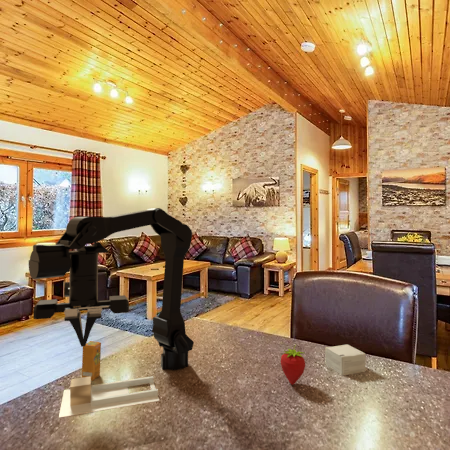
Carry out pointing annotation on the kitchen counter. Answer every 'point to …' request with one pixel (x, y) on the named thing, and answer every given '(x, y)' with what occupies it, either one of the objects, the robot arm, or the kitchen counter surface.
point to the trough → (111, 397)
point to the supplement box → (91, 360)
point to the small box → (345, 359)
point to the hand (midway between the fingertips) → (83, 345)
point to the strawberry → (292, 365)
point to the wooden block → (80, 391)
